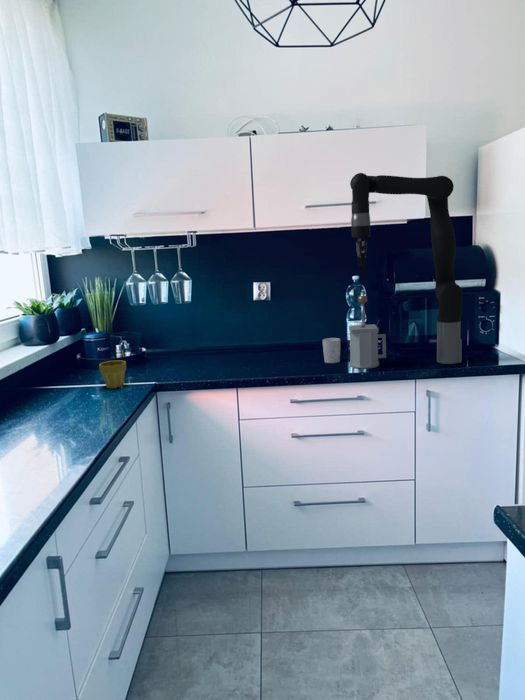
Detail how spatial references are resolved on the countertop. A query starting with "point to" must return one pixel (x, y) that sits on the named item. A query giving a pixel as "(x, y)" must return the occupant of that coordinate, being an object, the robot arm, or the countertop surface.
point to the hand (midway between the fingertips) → (361, 266)
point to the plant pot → (113, 373)
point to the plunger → (361, 300)
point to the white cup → (331, 350)
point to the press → (365, 346)
